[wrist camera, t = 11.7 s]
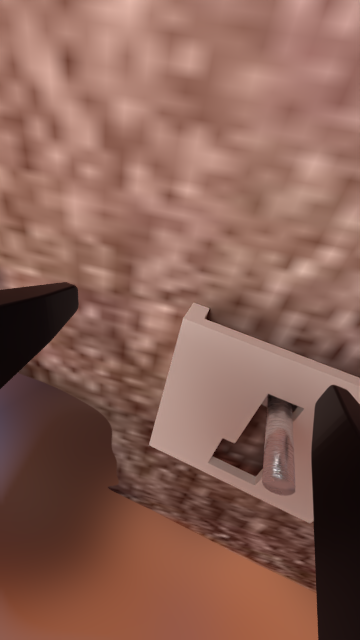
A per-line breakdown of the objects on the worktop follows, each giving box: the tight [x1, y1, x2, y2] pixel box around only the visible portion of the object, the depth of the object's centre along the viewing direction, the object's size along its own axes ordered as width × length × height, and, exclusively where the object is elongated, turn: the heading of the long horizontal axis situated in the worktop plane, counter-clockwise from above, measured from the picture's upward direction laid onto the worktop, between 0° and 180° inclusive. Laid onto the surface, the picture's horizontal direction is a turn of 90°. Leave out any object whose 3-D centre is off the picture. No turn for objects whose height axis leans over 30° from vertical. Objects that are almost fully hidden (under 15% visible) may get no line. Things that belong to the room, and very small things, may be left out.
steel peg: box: [262, 394, 298, 496], centre depth 20 cm, size 4×4×9 cm
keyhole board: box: [149, 303, 360, 523], centre depth 25 cm, size 20×20×3 cm
